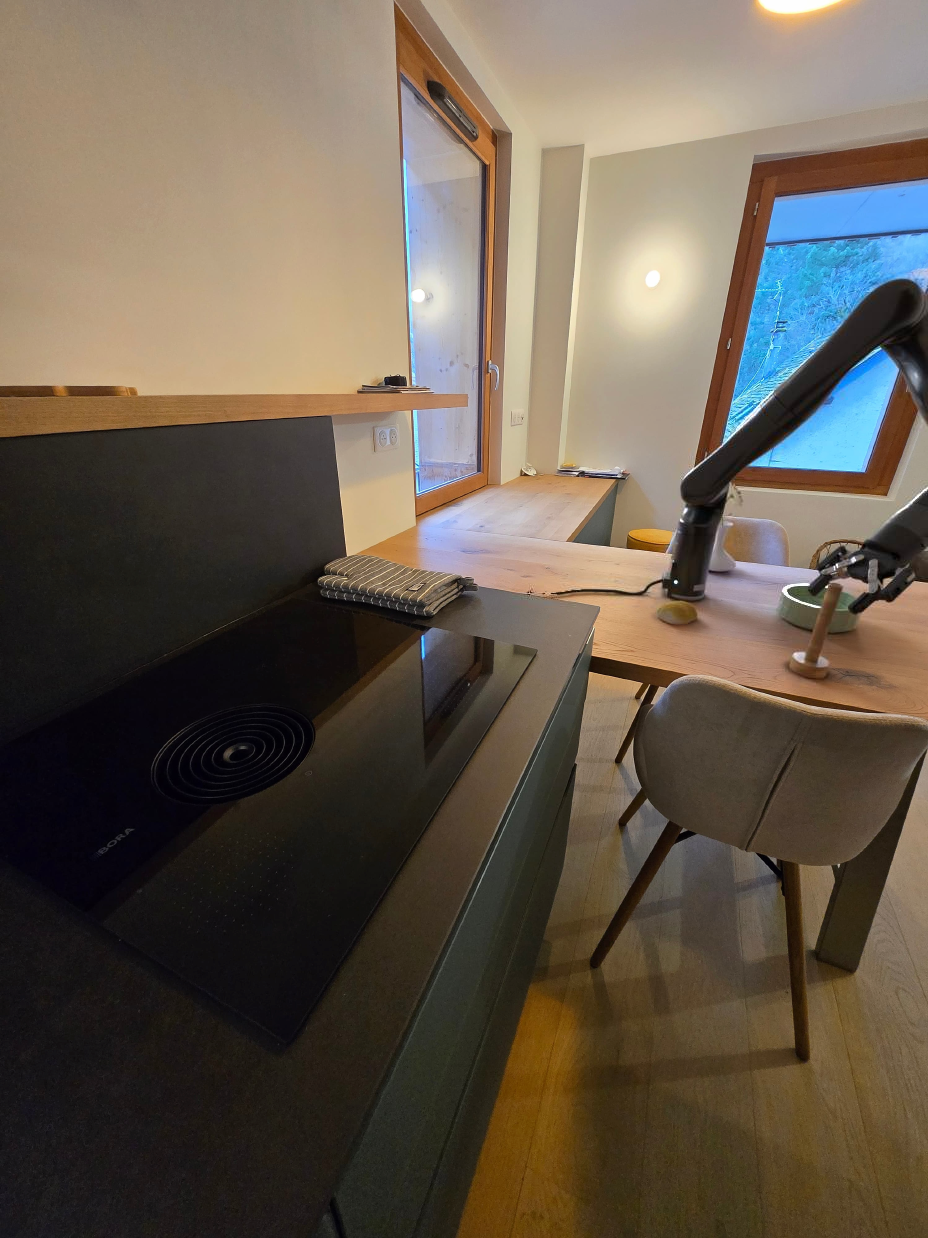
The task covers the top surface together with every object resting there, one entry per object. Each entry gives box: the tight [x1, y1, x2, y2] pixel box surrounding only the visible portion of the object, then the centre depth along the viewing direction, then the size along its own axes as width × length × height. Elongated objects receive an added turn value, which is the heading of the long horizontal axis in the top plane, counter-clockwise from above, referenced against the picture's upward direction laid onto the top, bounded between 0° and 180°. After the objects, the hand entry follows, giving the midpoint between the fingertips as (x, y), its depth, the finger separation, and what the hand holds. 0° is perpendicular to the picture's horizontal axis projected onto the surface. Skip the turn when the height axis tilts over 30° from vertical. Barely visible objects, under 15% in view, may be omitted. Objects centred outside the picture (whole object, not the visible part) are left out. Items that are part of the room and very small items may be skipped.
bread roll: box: [655, 600, 698, 625], centre depth 117 cm, size 8×9×4 cm
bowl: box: [776, 583, 863, 634], centre depth 115 cm, size 16×16×6 cm
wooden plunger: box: [789, 582, 844, 679], centre depth 92 cm, size 6×6×18 cm
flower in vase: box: [709, 481, 744, 572], centre depth 144 cm, size 13×11×25 cm
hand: (830, 601), depth 90 cm, fingers open, 8 cm apart
